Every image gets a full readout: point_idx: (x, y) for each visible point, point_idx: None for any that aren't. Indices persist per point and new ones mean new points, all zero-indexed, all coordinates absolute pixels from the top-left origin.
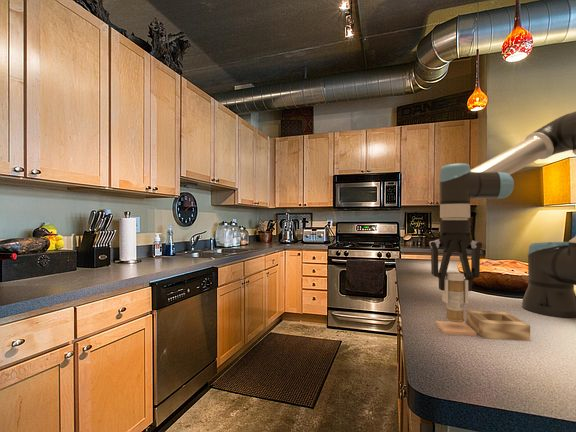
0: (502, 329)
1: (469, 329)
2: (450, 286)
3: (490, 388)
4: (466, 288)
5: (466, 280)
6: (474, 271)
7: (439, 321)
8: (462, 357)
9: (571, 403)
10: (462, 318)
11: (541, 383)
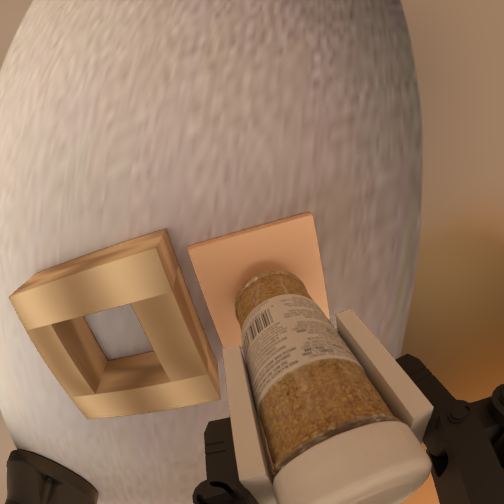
0: (90, 262)
1: (212, 279)
2: (371, 387)
3: None
4: (244, 421)
5: (255, 476)
6: None
7: None
8: (265, 11)
9: None
10: (244, 293)
11: None
